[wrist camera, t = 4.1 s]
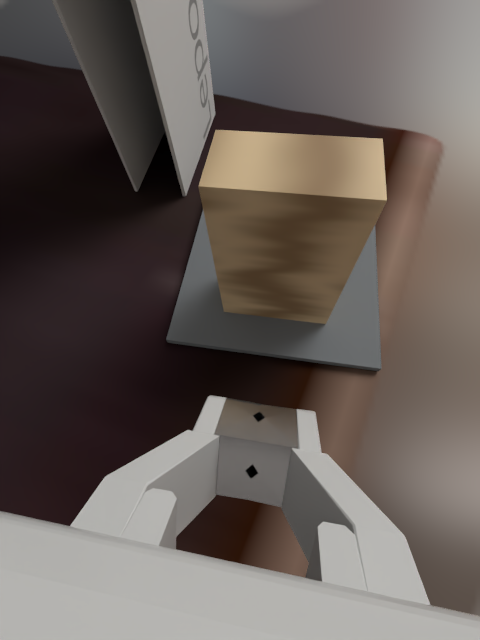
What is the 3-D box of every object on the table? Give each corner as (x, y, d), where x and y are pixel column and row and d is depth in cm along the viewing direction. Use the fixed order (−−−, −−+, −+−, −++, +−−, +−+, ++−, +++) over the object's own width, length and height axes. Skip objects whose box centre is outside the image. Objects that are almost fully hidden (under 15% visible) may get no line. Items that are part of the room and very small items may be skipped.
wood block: (223, 311, 24) (198, 186, 13) (232, 270, 26) (215, 129, 15) (325, 324, 23) (387, 200, 12) (327, 280, 25) (382, 138, 14)
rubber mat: (167, 342, 24) (166, 339, 23) (219, 158, 33) (219, 152, 33) (378, 371, 22) (381, 368, 22) (370, 167, 31) (372, 162, 31)
